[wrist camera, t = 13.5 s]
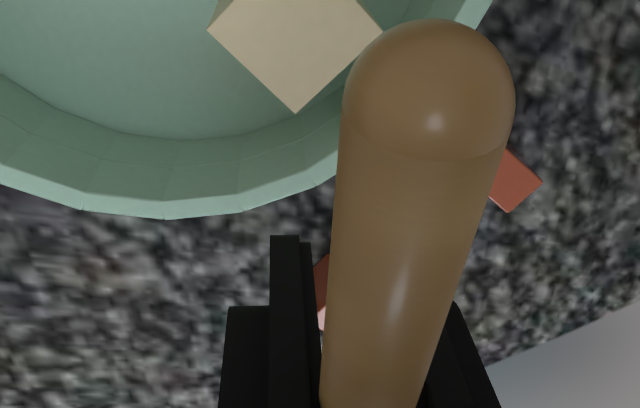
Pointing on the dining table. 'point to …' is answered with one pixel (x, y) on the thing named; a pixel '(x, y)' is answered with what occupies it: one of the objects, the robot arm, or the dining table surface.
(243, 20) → the cream block
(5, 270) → the dining table surface
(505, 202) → the red blocks
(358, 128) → the tan wooden rod
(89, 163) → the bowl
